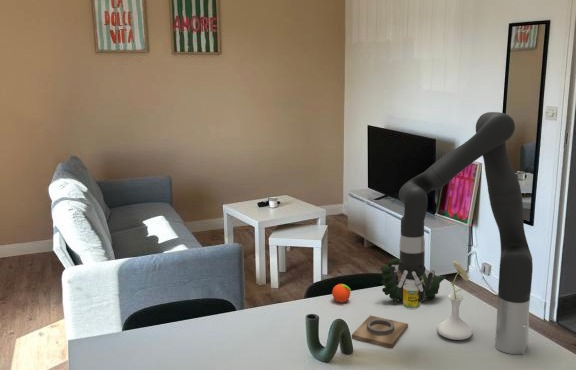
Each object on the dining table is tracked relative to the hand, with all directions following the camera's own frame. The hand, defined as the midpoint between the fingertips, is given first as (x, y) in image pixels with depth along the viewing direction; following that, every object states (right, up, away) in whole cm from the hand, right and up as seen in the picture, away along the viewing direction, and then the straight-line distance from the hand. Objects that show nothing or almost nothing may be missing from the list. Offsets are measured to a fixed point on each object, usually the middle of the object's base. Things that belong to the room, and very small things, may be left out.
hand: (411, 299), depth 176 cm
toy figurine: (+9, -9, +38) cm, 40 cm away
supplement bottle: (0, -3, +1) cm, 3 cm away
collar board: (-7, -14, +14) cm, 21 cm away
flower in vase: (+17, -14, +12) cm, 25 cm away
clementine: (-18, -9, +39) cm, 44 cm away
